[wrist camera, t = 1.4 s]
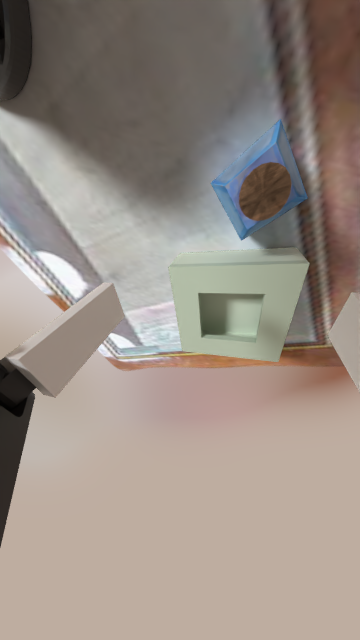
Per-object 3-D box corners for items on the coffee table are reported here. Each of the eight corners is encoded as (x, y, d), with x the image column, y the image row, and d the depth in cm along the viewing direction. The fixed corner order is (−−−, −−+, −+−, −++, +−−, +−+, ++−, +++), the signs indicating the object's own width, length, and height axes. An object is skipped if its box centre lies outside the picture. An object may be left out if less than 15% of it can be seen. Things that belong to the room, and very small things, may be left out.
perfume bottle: (241, 228, 24) (241, 258, 14) (217, 182, 21) (199, 183, 12) (292, 194, 20) (334, 205, 11) (270, 135, 18) (300, 87, 9)
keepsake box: (180, 253, 28) (168, 267, 23) (296, 247, 23) (309, 263, 19) (189, 330, 37) (182, 351, 33) (273, 336, 33) (278, 362, 28)
